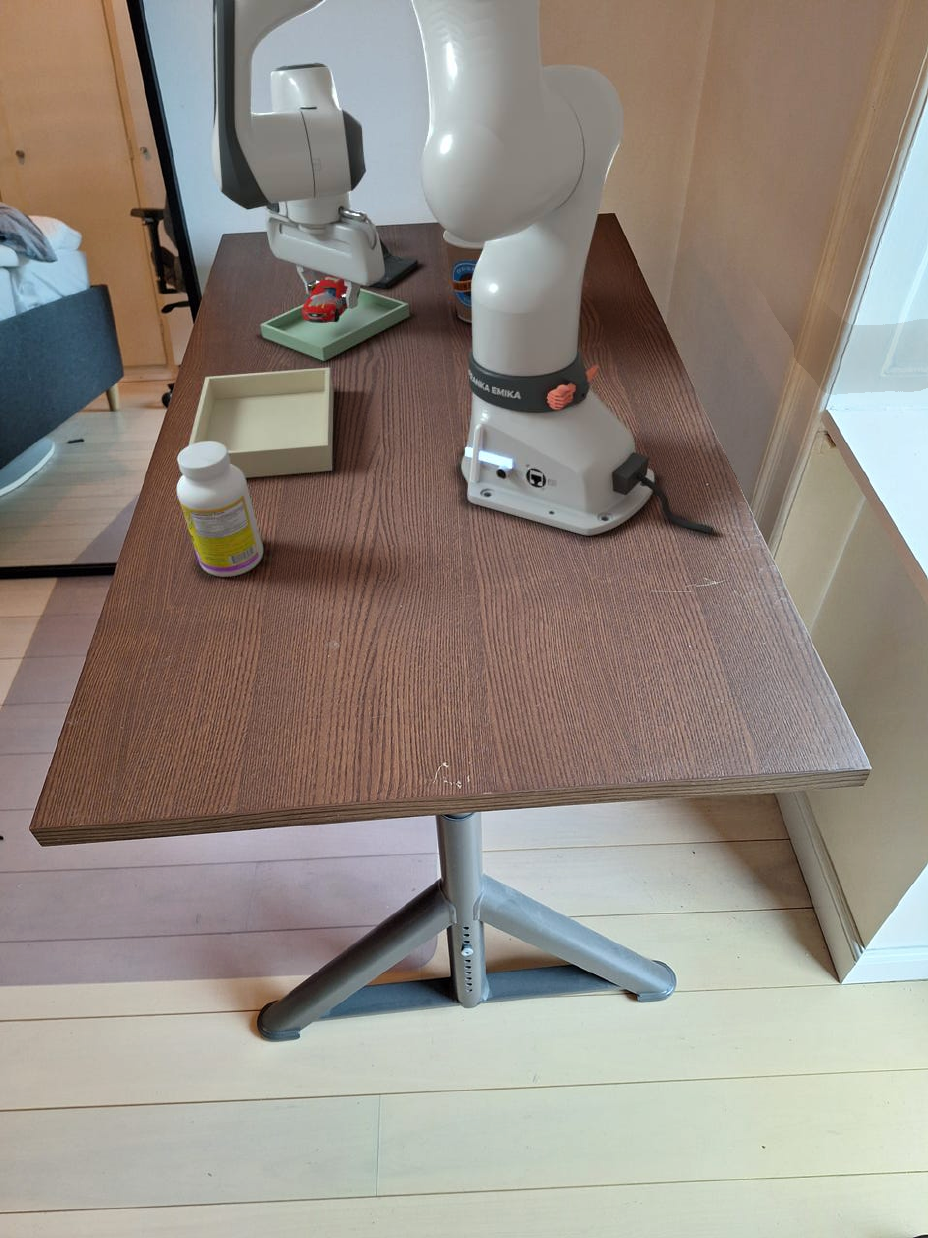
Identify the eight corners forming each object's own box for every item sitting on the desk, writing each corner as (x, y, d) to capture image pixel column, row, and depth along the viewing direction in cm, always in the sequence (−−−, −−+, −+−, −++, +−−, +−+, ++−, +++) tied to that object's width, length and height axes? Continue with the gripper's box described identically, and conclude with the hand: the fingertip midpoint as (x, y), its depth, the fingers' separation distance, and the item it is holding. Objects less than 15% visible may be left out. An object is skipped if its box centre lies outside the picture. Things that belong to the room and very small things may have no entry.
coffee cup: (437, 324, 128) (432, 242, 120) (459, 297, 135) (456, 217, 127) (502, 332, 126) (502, 248, 117) (521, 303, 133) (523, 223, 124)
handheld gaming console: (398, 279, 137) (360, 223, 134) (367, 303, 141) (329, 250, 138) (423, 263, 146) (388, 210, 143) (393, 286, 150) (358, 235, 147)
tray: (409, 316, 131) (408, 303, 129) (324, 361, 121) (322, 347, 119) (348, 296, 137) (347, 283, 135) (262, 337, 127) (260, 324, 125)
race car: (332, 329, 121) (328, 302, 119) (297, 325, 123) (293, 298, 120) (366, 292, 130) (364, 266, 128) (334, 289, 132) (330, 263, 129)
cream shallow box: (211, 400, 113) (205, 376, 111) (333, 391, 114) (329, 367, 112) (193, 482, 99) (185, 456, 97) (332, 470, 100) (327, 444, 98)
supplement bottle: (212, 538, 91) (181, 433, 83) (272, 540, 91) (247, 435, 82) (190, 578, 87) (155, 472, 78) (253, 581, 86) (225, 474, 77)
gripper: (389, 208, 113) (398, 309, 123) (285, 181, 123) (300, 277, 132) (356, 222, 110) (368, 325, 119) (252, 193, 119) (270, 291, 129)
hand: (331, 300), depth 126 cm, fingers closed on race car, 6 cm apart
